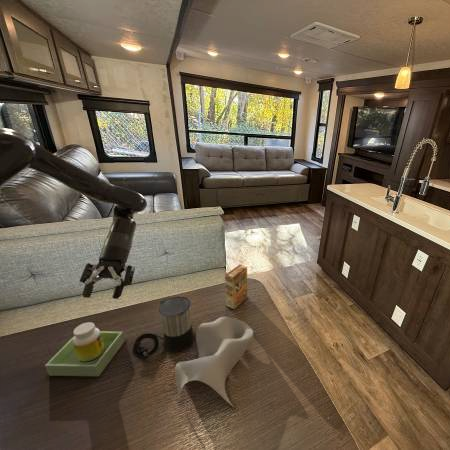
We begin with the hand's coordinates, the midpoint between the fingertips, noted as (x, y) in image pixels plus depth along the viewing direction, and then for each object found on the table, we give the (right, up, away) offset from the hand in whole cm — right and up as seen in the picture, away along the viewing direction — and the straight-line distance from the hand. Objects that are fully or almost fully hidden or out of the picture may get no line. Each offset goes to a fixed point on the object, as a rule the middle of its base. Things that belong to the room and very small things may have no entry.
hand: (100, 298), depth 76 cm
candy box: (+36, -9, +26) cm, 45 cm away
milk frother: (+18, -17, +5) cm, 25 cm away
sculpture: (+37, -20, 0) cm, 42 cm away
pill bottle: (-1, -17, -2) cm, 17 cm away
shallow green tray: (-2, -17, -2) cm, 18 cm away
